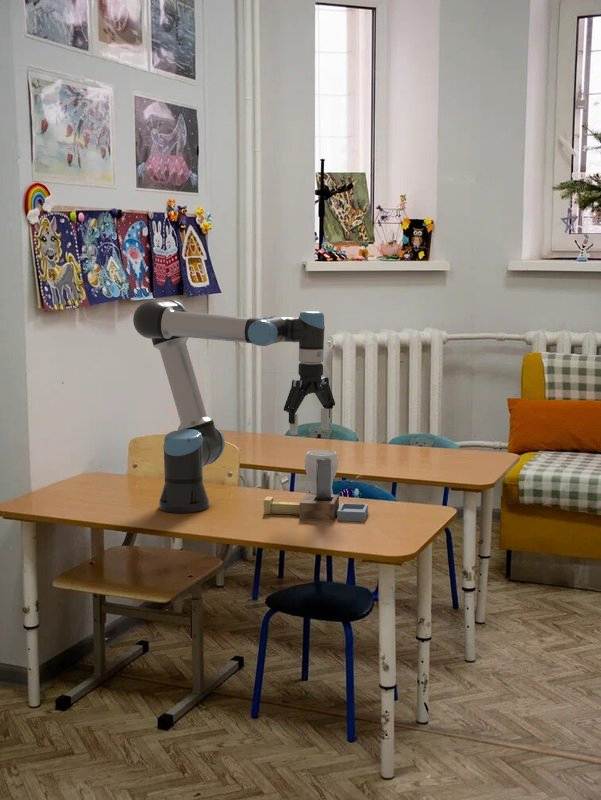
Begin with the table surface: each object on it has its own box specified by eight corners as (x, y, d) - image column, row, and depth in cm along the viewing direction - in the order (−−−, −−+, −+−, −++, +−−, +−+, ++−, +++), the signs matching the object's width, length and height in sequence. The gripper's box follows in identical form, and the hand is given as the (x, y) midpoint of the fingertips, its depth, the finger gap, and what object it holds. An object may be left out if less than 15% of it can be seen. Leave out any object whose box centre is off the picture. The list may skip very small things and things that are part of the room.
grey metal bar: (315, 516, 297) (315, 460, 295) (317, 513, 302) (317, 457, 299) (329, 517, 297) (330, 461, 294) (331, 513, 301) (332, 458, 298)
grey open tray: (337, 520, 293) (337, 511, 293) (341, 511, 303) (341, 502, 303) (364, 521, 292) (364, 512, 292) (368, 512, 302) (368, 504, 301)
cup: (309, 503, 313) (309, 456, 311) (300, 496, 323) (300, 450, 321) (342, 501, 316) (342, 454, 313) (332, 494, 326) (332, 448, 324)
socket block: (299, 519, 294) (299, 502, 294) (306, 509, 306) (306, 493, 305) (333, 520, 293) (333, 504, 292) (338, 510, 304) (338, 494, 304)
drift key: (263, 513, 300) (263, 500, 299) (267, 510, 304) (266, 496, 304) (303, 515, 298) (303, 501, 297) (305, 511, 302) (306, 498, 302)
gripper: (290, 366, 292) (288, 438, 295) (347, 361, 309) (345, 428, 312) (272, 364, 297) (271, 434, 300) (330, 359, 315) (328, 425, 318)
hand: (309, 431), depth 306 cm, fingers open, 13 cm apart
